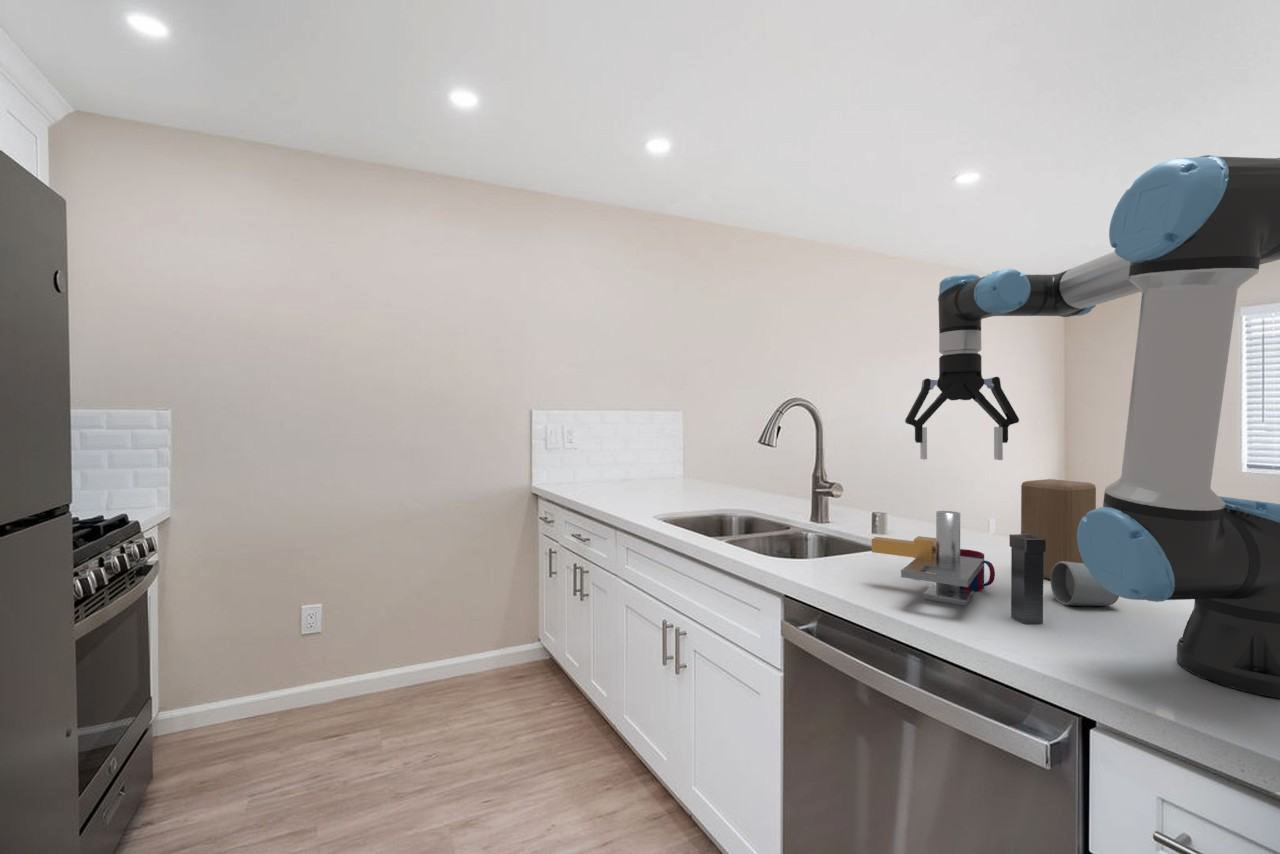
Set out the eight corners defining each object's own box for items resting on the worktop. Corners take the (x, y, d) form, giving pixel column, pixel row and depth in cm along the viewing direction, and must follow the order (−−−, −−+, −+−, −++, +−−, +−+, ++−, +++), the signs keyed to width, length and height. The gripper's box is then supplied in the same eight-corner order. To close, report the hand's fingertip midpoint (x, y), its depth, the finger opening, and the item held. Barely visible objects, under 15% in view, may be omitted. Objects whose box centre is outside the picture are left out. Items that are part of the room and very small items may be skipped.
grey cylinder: (1124, 611, 104) (1124, 567, 104) (1074, 610, 104) (1074, 566, 104) (1084, 594, 114) (1084, 554, 114) (1039, 593, 115) (1039, 553, 115)
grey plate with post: (880, 579, 124) (880, 503, 124) (983, 595, 113) (984, 511, 113) (853, 601, 110) (853, 514, 110) (967, 622, 99) (967, 525, 99)
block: (1018, 573, 129) (1019, 480, 128) (1047, 568, 133) (1047, 478, 132) (1068, 585, 120) (1069, 485, 119) (1097, 579, 124) (1098, 483, 123)
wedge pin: (1045, 624, 98) (1045, 539, 97) (1026, 625, 97) (1026, 539, 97) (1027, 616, 102) (1027, 534, 101) (1009, 616, 102) (1009, 534, 101)
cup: (967, 581, 123) (967, 548, 123) (1005, 595, 113) (1005, 559, 113) (938, 582, 122) (938, 549, 122) (974, 597, 112) (974, 561, 112)
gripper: (1023, 353, 121) (1024, 458, 121) (890, 358, 127) (891, 457, 127) (1037, 349, 113) (1038, 461, 114) (895, 354, 120) (896, 459, 120)
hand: (960, 459), depth 120 cm, fingers open, 13 cm apart
